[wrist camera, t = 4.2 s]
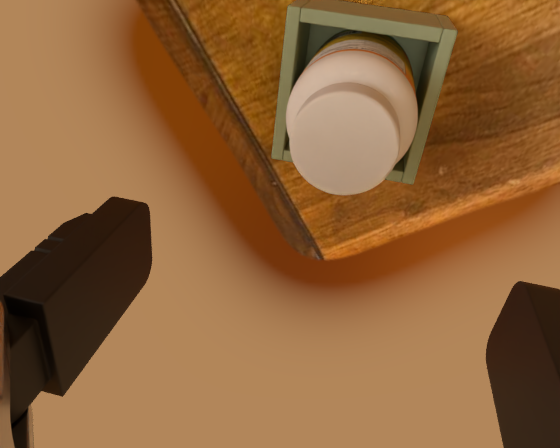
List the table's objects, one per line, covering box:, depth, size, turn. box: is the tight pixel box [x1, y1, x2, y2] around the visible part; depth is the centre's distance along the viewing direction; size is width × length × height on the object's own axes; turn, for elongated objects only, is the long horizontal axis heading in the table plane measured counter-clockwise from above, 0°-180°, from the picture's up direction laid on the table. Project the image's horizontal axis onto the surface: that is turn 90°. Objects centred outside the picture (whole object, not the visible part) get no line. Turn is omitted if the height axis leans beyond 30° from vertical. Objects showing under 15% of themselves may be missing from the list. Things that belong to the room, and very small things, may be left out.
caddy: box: [271, 0, 458, 184], centre depth 24 cm, size 7×7×4 cm
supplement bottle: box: [286, 29, 418, 195], centre depth 21 cm, size 5×5×10 cm
